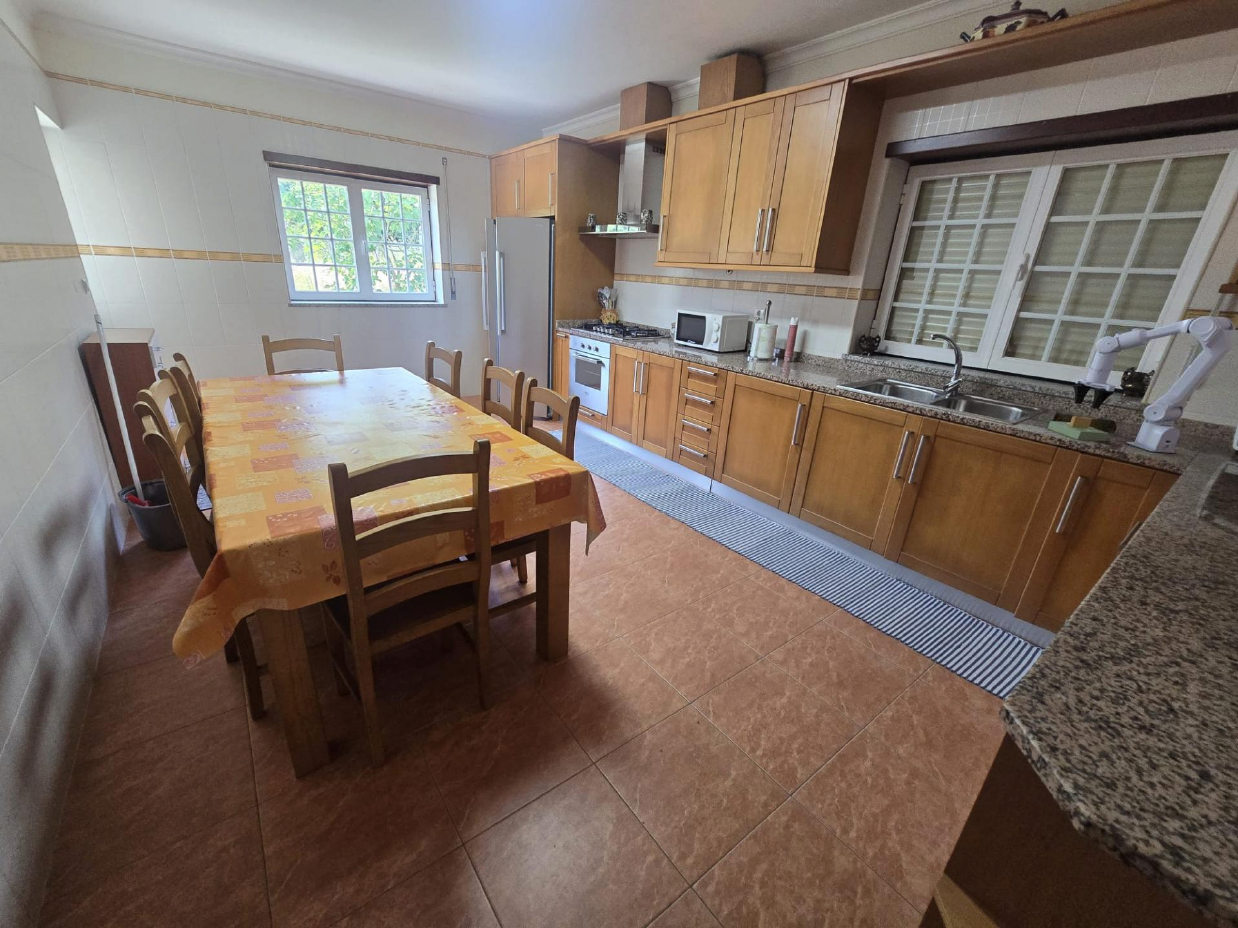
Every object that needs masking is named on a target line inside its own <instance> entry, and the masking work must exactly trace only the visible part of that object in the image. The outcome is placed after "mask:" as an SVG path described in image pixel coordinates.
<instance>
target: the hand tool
mask: <svg viewBox="0 0 1238 928" xmlns="http://www.w3.org/2000/svg"><path fill="white" fill-rule="evenodd" d="M1073 416H1075V415H1073V414H1070V413H1061V412H1059V411H1056V412H1055V413H1054V415H1053V417H1052V418H1053V419H1052V421H1057V422H1071V419H1072V417H1073ZM1076 416H1077V415H1076ZM1077 417H1079V416H1077ZM1091 419H1092V420H1091V423H1090V425H1089V427H1093V428H1094V429H1097V430H1100V431H1103V432H1112V433H1115V432H1116V431H1117V427H1118V426H1117V423H1116V421H1115V420H1113V419H1108V418H1101V417H1097V418H1091Z"/></svg>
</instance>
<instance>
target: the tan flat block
mask: <svg viewBox="0 0 1238 928" xmlns="http://www.w3.org/2000/svg"><path fill="white" fill-rule="evenodd" d="M1092 419H1093V418H1092V417H1084V416H1078V417H1077V415H1074V416H1073V417H1072V419H1071V422H1070V425H1069V426H1071V427H1083V428H1089V427H1090V426H1089V425H1090V423H1091V420H1092Z"/></svg>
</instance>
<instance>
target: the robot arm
mask: <svg viewBox="0 0 1238 928" xmlns="http://www.w3.org/2000/svg"><path fill="white" fill-rule="evenodd" d="M1235 330H1236V327H1235V325H1234V323H1233V322H1232V320H1231V319H1230V318H1228V317H1225V316H1211V315H1203V316H1199V317H1193V318H1192V317H1191V318H1188V319H1184V320H1181V321H1177V322H1174V323H1170V324H1166V325H1164V326H1163V325H1162V326H1159V327H1156V328H1152V329H1149V330H1147V329H1146V328H1139V327H1136V328H1135V327H1134V328H1132V329H1131V331H1127V332H1124V333H1123V332H1122V333H1120V332H1118V333H1115V335H1114V336H1110V335H1105V336H1104V337H1101V338H1099V339H1098V340H1097V341H1096V343H1095V349H1096V353H1095V355H1094V358H1093V360H1092V363H1091V365H1090V369H1089V371H1088V373H1087V375H1086V378H1080V377H1077V378H1076V380H1075V384H1073V385H1072V388H1073V390H1074V404H1076V405H1082V404H1083V402H1084V401H1085V398H1086V396H1087V395H1088V393H1089V391H1090V390H1091V389H1092V388H1094V389H1093V401H1092V403H1091V409H1093V410H1099V409H1100V407H1101V406H1102V405H1103V404H1104V403H1105V401H1106V400H1107V399H1109V397H1111V396H1112V395H1114V394H1115V388H1116V385H1114V384H1110V383H1107V382H1108V380H1109V377H1110V374H1111V371H1112V369H1113V367H1114V364H1115V361H1116V359H1117V357H1118V354H1119V353H1120V352H1122V351H1125V350H1129V349H1133V348H1137V347H1142V346H1145V345H1147V344H1149V343H1150V342H1151V340H1155V339H1160V338H1164V337H1170V336H1173V335H1178V334H1191V335H1192V336H1193V337H1194V338H1196V339H1197V340H1198V341H1199V343H1200V345H1201V347H1202V351H1201V352H1199V354H1198V355H1197V356H1196V358H1195V359H1194V360H1193V361H1192V362H1191V364H1190V365H1189V366H1188V367H1187V369H1186V370H1184V372H1183V373H1182V374H1181V375H1180V377H1179V378H1177V380H1176V381H1175V383H1173V385H1172V386H1171V387H1170V388H1169V390H1168V391H1167V392H1166V393H1165V394H1163V395H1162V396H1160V397H1159V398H1158V399H1156V400H1155V401H1154V402H1153V403H1152V404H1150V405H1148V406H1146V407H1145V408H1144V410H1143V413H1142V414H1143V418H1144V419H1143V422H1142V424H1141V426H1140V428H1139V431H1138V433H1137V435H1136V438H1135V440H1134V441H1126V444H1127V445H1131V446H1133V447H1136V448H1140V449H1143V450H1146V451H1148V452H1155V453H1170V454H1175V450H1174V449H1175V447H1176V445H1177V443H1178V441H1179V439H1180V436H1181V431H1180V429H1178V428H1176V427H1175V426H1174V425H1175V421H1178V420H1180V418H1182V416H1183V415H1184V410H1185V408H1186V407H1187V406H1188V399H1189V398H1190V397H1191V396H1192V395H1193V394H1194V392H1195V391H1196V390H1197V389H1198V388H1199V386H1200V385H1202V383H1203V382H1204V381H1205V380H1206V379H1207V377H1208V376H1209V375H1210V374H1211V373H1212V372H1213V370H1215V368H1216V367H1217V366H1218V365H1219V364H1220V363H1221V362H1222V361H1223V359H1224V358H1225V357H1226V356H1227V354H1229V353H1230V352H1231V349H1232V344H1233V336H1234V332H1235Z"/></svg>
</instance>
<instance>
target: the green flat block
mask: <svg viewBox="0 0 1238 928" xmlns="http://www.w3.org/2000/svg"><path fill="white" fill-rule="evenodd" d="M1069 425H1070V422H1062V421H1053V420H1050V421H1049V423H1048V425H1047V430H1051V431H1053V432H1055V433H1058V434H1061V435H1063V436H1067V437H1070V438H1072V439H1075V440H1079V441H1081V440H1082V441H1095V442H1107V439H1108V437H1109V435H1110V433H1109V432H1107V431H1102V430H1097V429H1094V428H1093V427H1090V426H1089V428H1083V427H1071V426H1069Z"/></svg>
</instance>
